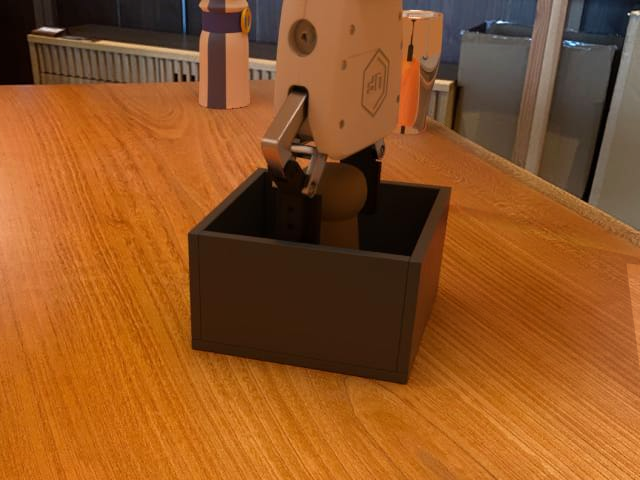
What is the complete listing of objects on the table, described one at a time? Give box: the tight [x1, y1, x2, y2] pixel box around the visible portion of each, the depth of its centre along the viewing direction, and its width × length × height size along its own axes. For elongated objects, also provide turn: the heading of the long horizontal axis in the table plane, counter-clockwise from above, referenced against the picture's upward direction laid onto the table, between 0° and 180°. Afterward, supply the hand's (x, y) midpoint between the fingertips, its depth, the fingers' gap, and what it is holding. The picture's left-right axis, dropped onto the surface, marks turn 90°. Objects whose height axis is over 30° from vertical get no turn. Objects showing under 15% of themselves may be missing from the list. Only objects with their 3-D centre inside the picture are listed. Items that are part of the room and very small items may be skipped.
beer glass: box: [391, 9, 444, 135], centre depth 104 cm, size 7×7×15 cm
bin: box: [187, 167, 453, 385], centre depth 63 cm, size 16×16×9 cm
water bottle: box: [198, 0, 252, 110], centre depth 119 cm, size 8×9×25 cm
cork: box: [302, 161, 367, 250], centre depth 62 cm, size 6×6×11 cm
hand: (328, 228), depth 61 cm, fingers open, 8 cm apart
